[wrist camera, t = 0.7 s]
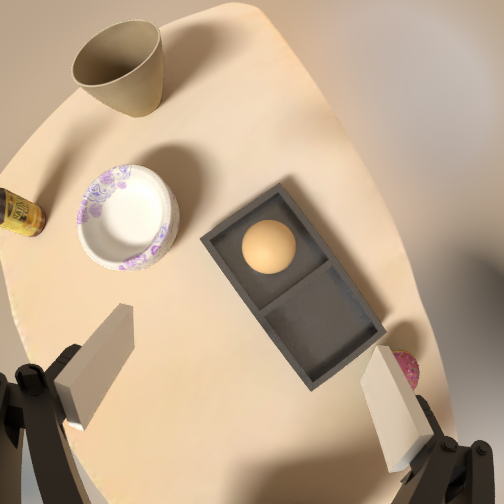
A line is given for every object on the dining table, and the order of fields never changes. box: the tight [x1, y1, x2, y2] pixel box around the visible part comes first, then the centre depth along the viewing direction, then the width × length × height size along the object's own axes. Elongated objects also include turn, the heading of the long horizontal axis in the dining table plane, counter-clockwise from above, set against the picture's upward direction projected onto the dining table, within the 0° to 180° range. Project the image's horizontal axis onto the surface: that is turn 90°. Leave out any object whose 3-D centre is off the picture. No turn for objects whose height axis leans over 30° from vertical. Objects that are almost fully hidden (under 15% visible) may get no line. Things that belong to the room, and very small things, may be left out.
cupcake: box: [392, 350, 420, 391], centre depth 37 cm, size 9×8×12 cm
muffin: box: [242, 220, 296, 274], centre depth 41 cm, size 7×7×8 cm
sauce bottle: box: [0, 188, 45, 237], centre depth 37 cm, size 7×6×20 cm
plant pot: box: [71, 19, 164, 117], centre depth 42 cm, size 15×15×16 cm
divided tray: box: [200, 183, 386, 391], centre depth 43 cm, size 27×14×4 cm, turn 36°
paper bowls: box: [77, 164, 180, 271], centre depth 43 cm, size 15×15×8 cm
